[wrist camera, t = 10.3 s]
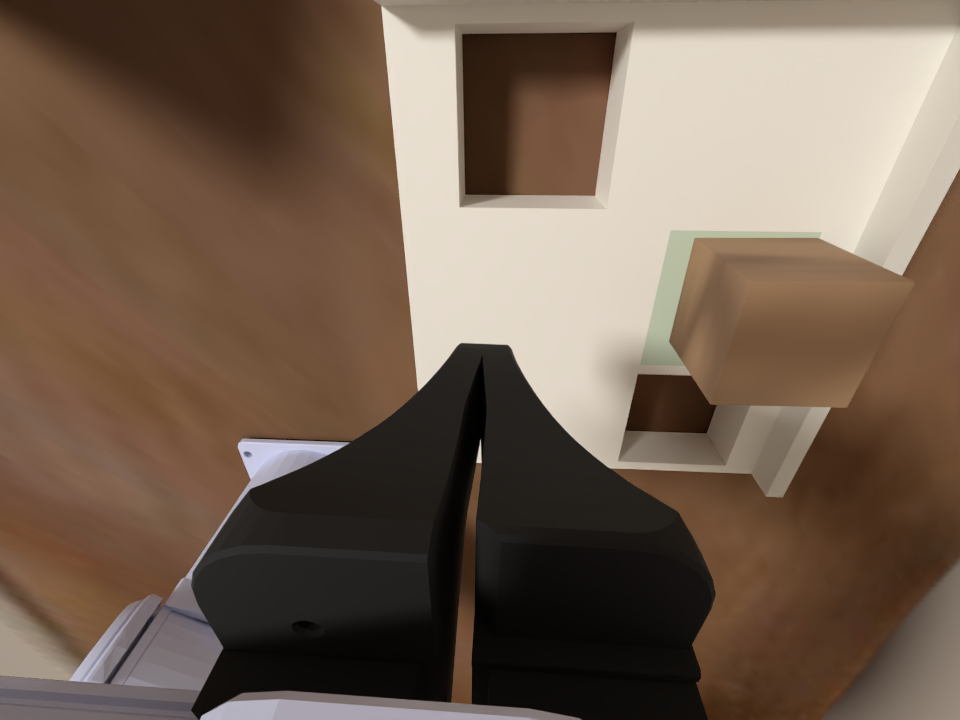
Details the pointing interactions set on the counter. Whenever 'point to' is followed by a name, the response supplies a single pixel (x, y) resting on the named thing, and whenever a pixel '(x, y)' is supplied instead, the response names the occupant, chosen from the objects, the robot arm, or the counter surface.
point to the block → (782, 320)
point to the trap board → (669, 191)
